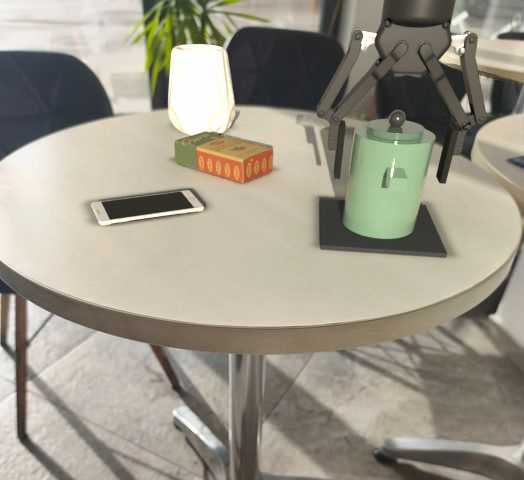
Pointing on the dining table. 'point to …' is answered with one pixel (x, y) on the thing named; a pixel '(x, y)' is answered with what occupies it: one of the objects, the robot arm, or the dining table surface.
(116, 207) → the smartphone
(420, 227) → the mat
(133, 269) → the dining table surface
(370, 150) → the kettle
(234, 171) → the carton
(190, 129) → the vase
